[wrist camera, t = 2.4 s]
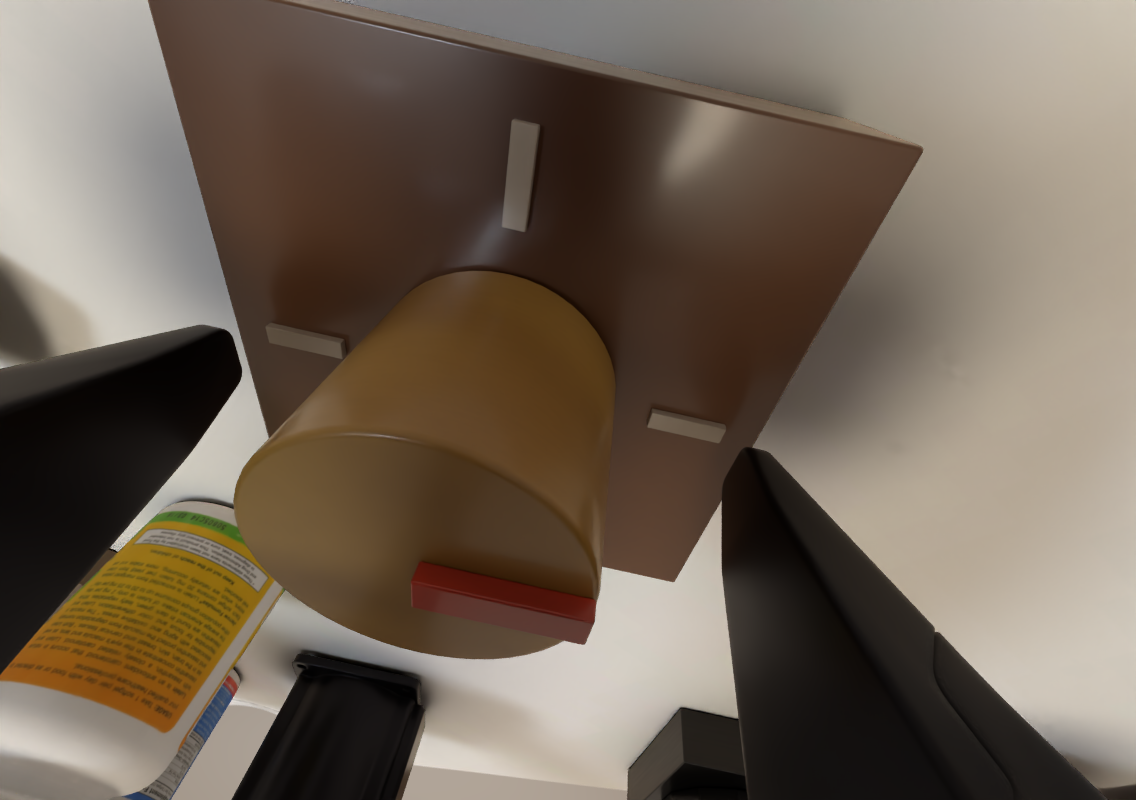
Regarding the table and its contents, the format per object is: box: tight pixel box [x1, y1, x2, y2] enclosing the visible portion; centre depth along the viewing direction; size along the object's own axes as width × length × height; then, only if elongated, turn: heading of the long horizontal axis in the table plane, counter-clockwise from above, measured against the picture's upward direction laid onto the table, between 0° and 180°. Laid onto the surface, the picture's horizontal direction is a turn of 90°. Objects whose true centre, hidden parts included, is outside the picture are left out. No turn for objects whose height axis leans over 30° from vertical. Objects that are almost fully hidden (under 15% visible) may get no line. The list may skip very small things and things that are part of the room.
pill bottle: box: [108, 669, 240, 800], centre depth 24 cm, size 6×5×10 cm
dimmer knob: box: [233, 271, 616, 659], centre depth 7 cm, size 4×4×4 cm
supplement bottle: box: [0, 501, 285, 800], centre depth 15 cm, size 5×5×10 cm
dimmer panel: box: [148, 0, 923, 582], centre depth 10 cm, size 10×10×3 cm
